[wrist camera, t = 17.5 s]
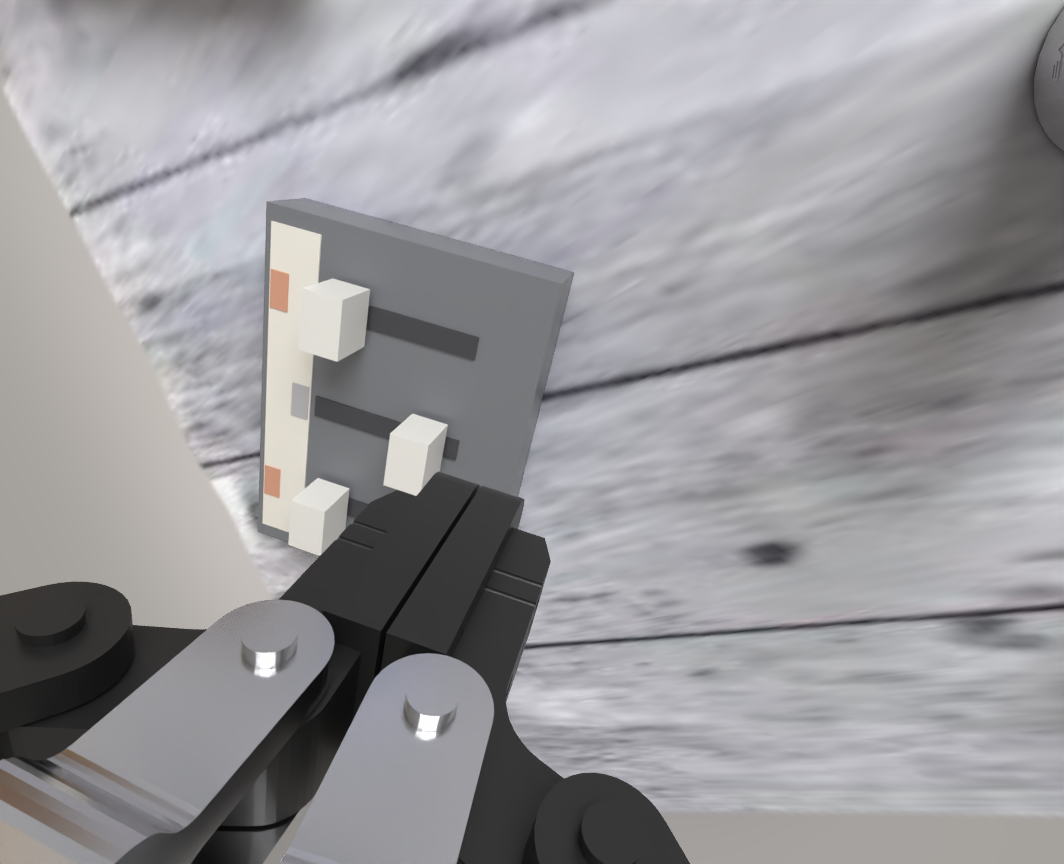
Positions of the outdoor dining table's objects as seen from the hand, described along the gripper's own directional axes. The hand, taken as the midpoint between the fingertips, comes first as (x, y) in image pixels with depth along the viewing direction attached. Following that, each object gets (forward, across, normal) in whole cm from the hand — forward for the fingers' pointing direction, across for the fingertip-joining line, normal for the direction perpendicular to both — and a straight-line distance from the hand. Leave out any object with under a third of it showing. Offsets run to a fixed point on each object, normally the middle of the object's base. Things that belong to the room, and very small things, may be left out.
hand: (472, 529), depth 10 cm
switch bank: (+29, +12, +13) cm, 34 cm away
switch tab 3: (+25, +9, +13) cm, 29 cm away
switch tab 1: (+25, +15, +6) cm, 29 cm away
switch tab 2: (+25, +15, +20) cm, 35 cm away
